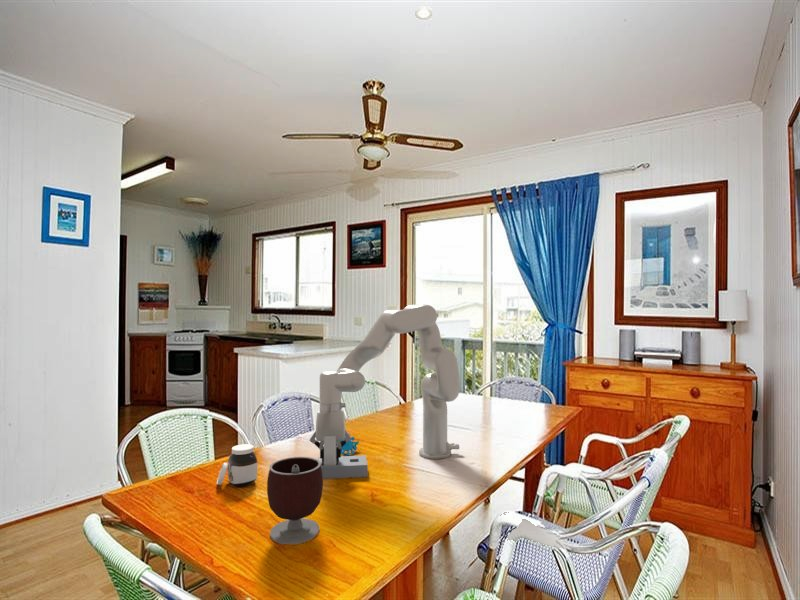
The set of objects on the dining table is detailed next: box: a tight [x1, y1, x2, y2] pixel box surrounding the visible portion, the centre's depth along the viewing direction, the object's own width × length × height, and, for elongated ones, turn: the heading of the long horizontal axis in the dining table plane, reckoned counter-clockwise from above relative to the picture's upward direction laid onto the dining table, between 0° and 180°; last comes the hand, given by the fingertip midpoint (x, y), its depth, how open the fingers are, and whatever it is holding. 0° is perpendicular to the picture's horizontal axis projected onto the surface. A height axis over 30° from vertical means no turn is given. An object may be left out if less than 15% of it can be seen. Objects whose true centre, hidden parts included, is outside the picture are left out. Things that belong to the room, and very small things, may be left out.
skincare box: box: [323, 436, 337, 466], centre depth 156 cm, size 6×4×12 cm
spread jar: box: [216, 443, 258, 488], centre depth 147 cm, size 12×11×12 cm
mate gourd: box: [266, 456, 324, 546], centre depth 114 cm, size 16×14×20 cm
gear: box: [337, 432, 360, 456], centre depth 179 cm, size 11×6×10 cm
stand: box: [317, 454, 369, 480], centre depth 157 cm, size 17×10×4 cm, turn 98°
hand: (330, 459), depth 156 cm, fingers closed on skincare box, 4 cm apart
